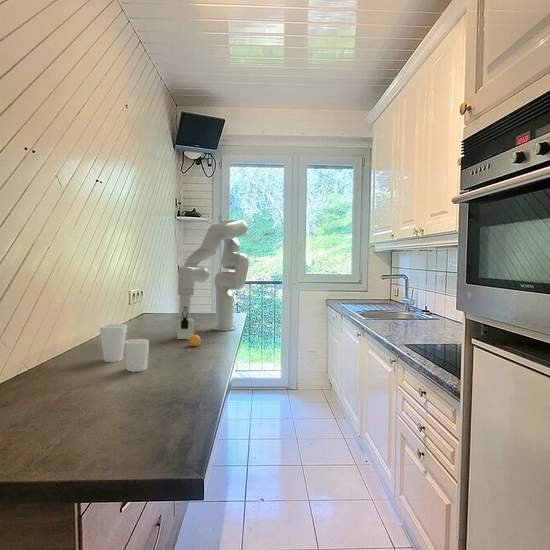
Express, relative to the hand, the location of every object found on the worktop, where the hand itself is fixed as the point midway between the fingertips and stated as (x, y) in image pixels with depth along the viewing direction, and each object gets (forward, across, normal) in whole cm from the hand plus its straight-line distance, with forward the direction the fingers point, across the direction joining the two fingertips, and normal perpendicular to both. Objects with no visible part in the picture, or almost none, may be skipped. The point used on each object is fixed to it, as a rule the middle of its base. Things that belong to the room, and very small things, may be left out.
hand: (184, 327), depth 191 cm
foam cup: (+7, +36, -26) cm, 45 cm away
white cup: (+7, +50, -16) cm, 53 cm away
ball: (+3, +17, +5) cm, 18 cm away
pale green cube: (+5, -1, +1) cm, 5 cm away
